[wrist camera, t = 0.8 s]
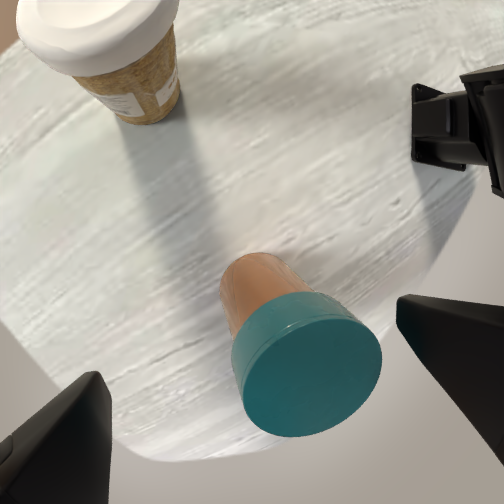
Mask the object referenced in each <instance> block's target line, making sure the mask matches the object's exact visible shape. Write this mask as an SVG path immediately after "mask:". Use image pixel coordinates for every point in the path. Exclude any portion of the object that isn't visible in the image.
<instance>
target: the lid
mask: <svg viewBox="0 0 504 504" xmlns="http://www.w3.org/2000/svg"><path fill="white" fill-rule="evenodd" d="M231 359H232V367H233V371H234V374H235V378H236V381H237V385H238V388H239V392H240V395H241V399H242V402H243V405H244V409H245V411H246V413H247V415H248V417H249V418H250V420H251V421H252V422H253V423H254V424H255V425H256V426H258V427H259V428H260V429H262V430H264V431H266V432H268V433H271V434H274V435H277V436H283V437H301V436H307V435H312V434H316V433H319V432H322V431H325V430H327V429H330V428H332V427H334V426H335V425H337V424H339V423H341V422H342V421H344V420H345V419H347V418H348V417H349V416H350V415H352V414H353V413H354V412H355V411H356V410H357V409H359V408H360V407H361V405H362V404H363V403H364V402H365V401H366V400H367V398H368V397H369V396H370V394H371V392H372V391H373V389H374V387H375V385H376V383H377V380H378V378H379V375H380V371H381V366H382V352H381V348H380V344H379V342H378V340H377V338H376V337H375V335H374V334H373V333H372V332H371V331H370V330H369V329H368V328H367V327H366V326H365V325H364V324H363V323H362V322H361V321H359V320H358V319H357V318H356V317H355V316H354V315H353V314H352V313H350V312H349V311H348V310H347V309H346V308H345V307H344V306H343V305H341V304H340V303H339V302H338V301H336V300H335V299H334V298H332V297H330V296H328V295H325V294H322V293H318V292H311V291H301V292H293V293H289V294H285V295H282V296H279V297H276V298H274V299H272V300H270V301H268V302H267V303H265V304H264V305H262V306H261V307H259V308H258V309H257V310H256V311H254V312H253V313H252V314H251V315H250V316H249V317H248V318H247V320H246V321H245V322H244V324H243V325H242V326H241V328H240V330H239V331H238V333H237V335H236V338H235V340H234V343H233V347H232V355H231Z"/></svg>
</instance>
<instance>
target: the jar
mask: <svg viewBox="0 0 504 504" xmlns="http://www.w3.org/2000/svg"><path fill="white" fill-rule="evenodd" d="M219 291H220V299H221V302H222V306H223V309H224V312H225V316H226V319H227V322H228V325H229V328H230V332H231V335H232V338H233V341H234V340H235V338H236V335H237V333H238V331H239V330H240V328H241V326H242V325H243V324H244V322H245V321H246V320H247V318H248V317H249V316H250V315H251V314H252V313H253V312H254V311H256V310H257V309H258V308H259V307H261V306H262V305H264V304H265V303H267V302H268V301H270V300H272V299H274V298H276V297H279V296H282V295H285V294H289V293H293V292H301V291H311V292H315V291H313V290H312V289H311V288H310V287H309V286H308V285H307V284H306V283H305V282H304V281H303V280H302V279H301V278H300V277H299V276H298V275H297V274H296V273H295V272H294V271H292V270H291V269H290V268H289V267H288V266H287V265H286V264H285V263H284V262H283V261H282V260H281V259H279V258H278V257H276V256H274V255H271V254H267V253H252V254H248V255H245V256H243V257H241V258H239V259H237V260H236V261H234V262H233V263H232V264H231V265H230V266H229V267H228V268H227V270H226V271H225V273H224V275H223V277H222V279H221V283H220V290H219Z"/></svg>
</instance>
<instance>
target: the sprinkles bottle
mask: <svg viewBox="0 0 504 504" xmlns="http://www.w3.org/2000/svg"><path fill="white" fill-rule="evenodd" d="M178 6H179V0H19V3H18V7H17V15H16V23H17V31H18V34H19V36H20V38H21V40H22V42H23V44H24V45H25V46H26V47H27V49H29V50H30V51H31V52H32V53H33V54H34V55H35V56H36V57H38V58H39V59H40V60H41V61H42V62H44V63H45V64H46V65H48V66H49V67H50V68H52V69H54V70H55V71H57V72H60V73H62V74H65V75H70V76H72V77H73V78H74V79H75V80H76V81H77V82H78V84H79V85H80V86H81V87H82V88H84V89H85V90H86V91H88V92H89V93H90V94H91V95H93V96H94V97H95V98H97V99H98V100H99V101H100V102H101V103H103V104H104V105H105V106H106V107H108V108H109V109H110V110H112V111H113V112H115V114H116V115H117V116H118V117H119V118H120V119H122V120H123V121H125V122H128V123H131V124H134V125H147V124H150V123H154V122H157V121H159V120H161V119H162V118H164V117H165V116H166V115H167V114H168V113H169V112H170V111H171V109H172V108H173V107H174V105H175V104H176V102H177V100H178V97H179V92H180V85H179V79H178V69H177V60H176V44H175V35H174V31H173V27H174V25H173V21H174V19H175V17H176V14H177V11H178Z"/></svg>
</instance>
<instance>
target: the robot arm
mask: <svg viewBox="0 0 504 504" xmlns="http://www.w3.org/2000/svg"><path fill="white" fill-rule="evenodd" d="M460 79H461V82H462V83H464V86H465V89H466V90H465V91H459V92H452V93H447V94H446V93H443V92H441V91H438V90H435V89H433V88H430V87H427V86H425V85H422V84H418V83H417V84H414V85H413V86H412V152H411V156H412V160H413V161H414V162H418V163H423V164H428V165H433V166H438V167H443V168H447V169H452V170H457V171H465V169H466V164H473V165H484V166H488V167H489V172H490V176H491V181H492V185H491V187H492V192H493V193H494V194H496V195H498V196H500V197H502V198H504V64H501V65H496V66H491V67H487V68H484V69H480V70H477V71H473V72H470V73H467V74H463V75H460ZM417 88H418V90H419V92H418V90H417ZM417 154H418V158H417ZM396 324H397V327H398V329H399V331H400V332H401V333H402V335H403V336H404V337H405V339H406V341H407V342H408V344H409V345H410V347H411V348H412V350H413V351H414V352H415V354H416V356H417V357H418V358H419V360H420V361H421V362H422V364H423V365H424V366H425V367H426V369H427V370H428V371H429V372H430V373H431V374H432V376H433V377H434V378H435V379H436V380H437V381H438V383H439V384H440V385H441V386H442V388H443V389H444V390H445V391H446V392H447V394H448V395H449V396H450V397H451V399H452V400H453V401H454V402H455V403H456V405H457V406H458V407H459V409H460V410H461V411H462V412H463V413H464V415H465V416H466V417H467V418H468V420H469V421H470V422H471V424H472V425H473V426H474V427H475V429H476V430H477V431H478V433H479V434H480V435H481V436H482V438H483V439H484V440H485V442H486V443H487V444H488V445H489V447H490V448H491V449H492V451H493V452H494V453H495V455H496V456H497V458H498V459H499V460H500V462H501V463H502V464H503V466H504V306H497V305H489V304H480V303H473V302H465V301H457V300H449V299H442V298H435V297H427V296H420V295H413V294H407V295H405V296H402V297H399V298H398V300H397V307H396ZM111 451H112V398H111V394H110V392H109V390H108V388H107V386H106V384H105V382H104V379H103V377H102V375H101V374H100V373H99V372H98V371H91V372H85V373H84V374H83V375H81V376H80V377H79V378H78V379H77V380H75V381H74V382H73V383H72V384H71V385H69V386H68V387H67V388H66V389H64V390H63V391H62V392H61V393H60V394H58V395H57V396H56V397H55V398H54V399H52V400H51V401H50V402H49V403H48V404H46V405H45V406H44V407H43V408H42V409H40V410H39V411H38V412H37V413H36V414H34V415H33V416H32V417H31V418H30V419H28V420H27V421H26V422H25V423H24V424H22V425H21V426H20V427H19V428H18V429H17V430H15V431H14V432H13V433H12V435H9V436H8V437H7V438H6V439H4V440H3V441H2V442H1V443H0V504H108V499H109V497H108V496H109V479H110V464H111Z"/></svg>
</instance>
